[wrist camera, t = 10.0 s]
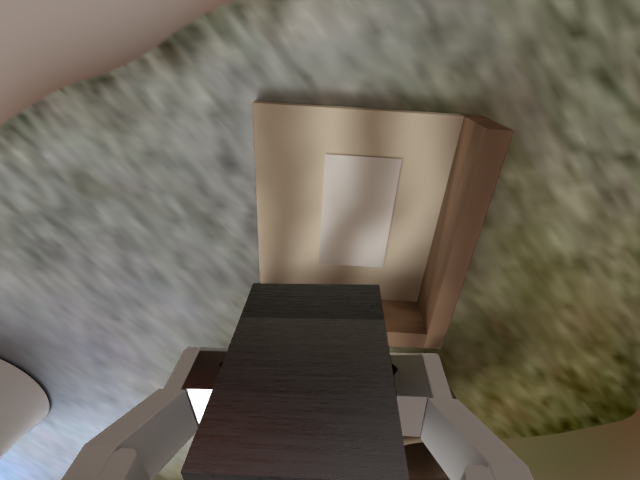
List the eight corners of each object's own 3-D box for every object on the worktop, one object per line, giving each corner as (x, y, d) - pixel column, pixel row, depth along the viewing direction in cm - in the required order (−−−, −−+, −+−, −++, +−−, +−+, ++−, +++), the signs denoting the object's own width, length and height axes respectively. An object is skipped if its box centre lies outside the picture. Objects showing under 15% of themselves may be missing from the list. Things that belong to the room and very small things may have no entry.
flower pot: (379, 418, 42) (392, 516, 33) (339, 360, 37) (341, 458, 28) (473, 392, 39) (513, 493, 30) (442, 326, 34) (480, 423, 25)
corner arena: (262, 298, 33) (252, 337, 29) (255, 100, 24) (237, 113, 20) (426, 309, 33) (441, 349, 29) (481, 115, 24) (513, 130, 20)
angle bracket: (253, 283, 14) (181, 471, 8) (379, 284, 13) (409, 483, 7) (274, 421, 18) (239, 611, 12) (369, 425, 18) (383, 622, 12)
